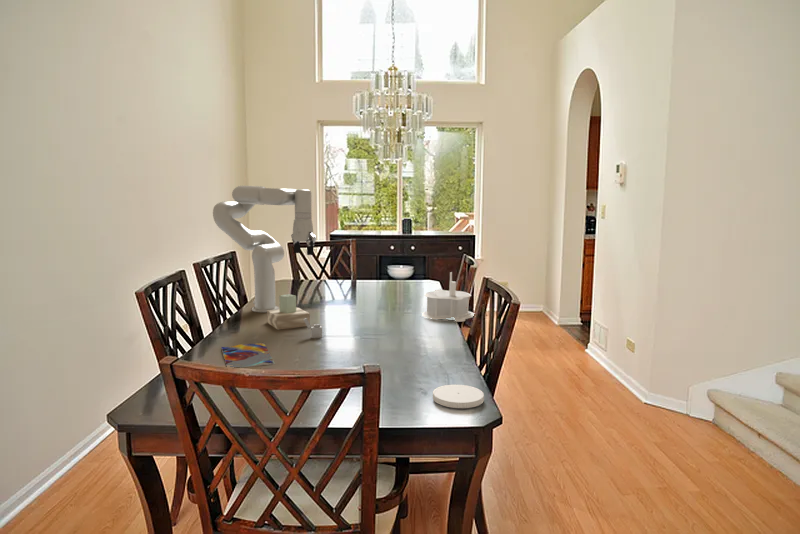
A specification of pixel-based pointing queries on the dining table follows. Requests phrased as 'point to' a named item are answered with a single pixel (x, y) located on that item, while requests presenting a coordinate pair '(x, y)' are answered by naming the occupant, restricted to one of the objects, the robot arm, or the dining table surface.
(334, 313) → the dining table surface
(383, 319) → the dining table surface
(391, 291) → the dining table surface
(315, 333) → the lighter
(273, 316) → the birch block
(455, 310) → the birthday cake
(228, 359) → the relief map
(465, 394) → the plastic lid
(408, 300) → the dining table surface
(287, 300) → the sage block
